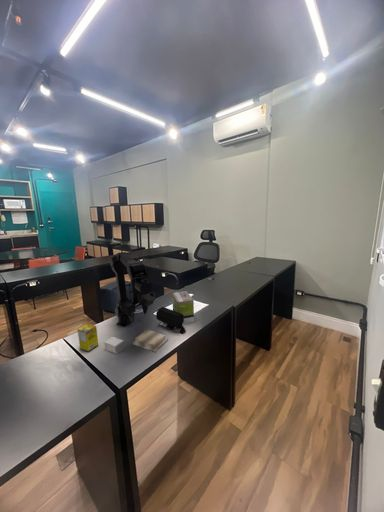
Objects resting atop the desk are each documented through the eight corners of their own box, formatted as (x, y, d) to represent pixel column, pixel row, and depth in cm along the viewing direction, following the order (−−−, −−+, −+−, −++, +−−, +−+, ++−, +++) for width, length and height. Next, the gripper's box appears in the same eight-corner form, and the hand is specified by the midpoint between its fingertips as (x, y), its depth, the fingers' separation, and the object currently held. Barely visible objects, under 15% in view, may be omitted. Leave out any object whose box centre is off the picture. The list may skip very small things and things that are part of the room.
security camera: (180, 336, 112) (179, 319, 110) (155, 325, 123) (155, 309, 121) (188, 330, 118) (188, 313, 116) (164, 320, 129) (163, 305, 127)
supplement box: (98, 345, 106) (96, 325, 103) (88, 352, 100) (85, 331, 98) (90, 342, 108) (87, 323, 106) (79, 349, 103) (77, 328, 101)
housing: (105, 349, 103) (104, 342, 102) (113, 343, 107) (112, 336, 106) (117, 354, 99) (116, 346, 98) (125, 348, 103) (124, 340, 103)
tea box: (172, 314, 138) (171, 292, 135) (187, 311, 140) (187, 290, 137) (178, 325, 123) (177, 301, 120) (194, 322, 126) (194, 299, 123)
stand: (132, 344, 106) (132, 338, 106) (146, 333, 116) (146, 328, 115) (155, 352, 100) (154, 346, 99) (168, 340, 109) (168, 334, 109)
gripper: (137, 298, 91) (139, 331, 94) (162, 284, 107) (163, 313, 111) (118, 293, 96) (120, 325, 99) (144, 281, 112) (145, 308, 115)
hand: (139, 317), depth 106 cm, fingers open, 9 cm apart
